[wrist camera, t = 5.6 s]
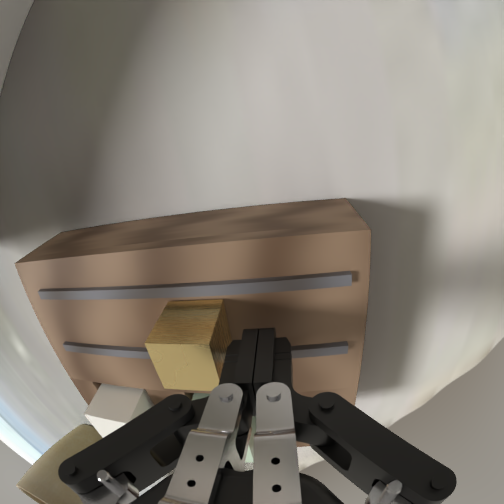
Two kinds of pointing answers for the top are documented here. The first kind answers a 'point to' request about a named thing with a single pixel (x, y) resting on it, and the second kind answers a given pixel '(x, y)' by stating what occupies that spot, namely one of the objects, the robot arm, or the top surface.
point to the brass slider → (190, 344)
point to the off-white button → (116, 407)
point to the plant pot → (46, 468)
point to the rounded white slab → (10, 30)
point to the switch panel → (208, 290)
